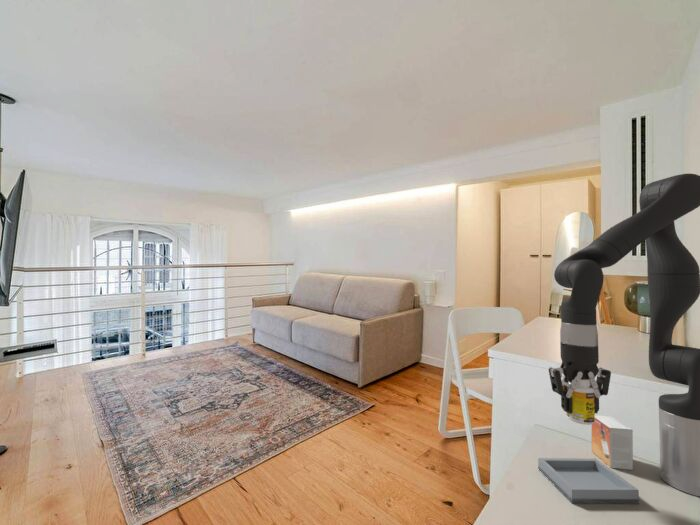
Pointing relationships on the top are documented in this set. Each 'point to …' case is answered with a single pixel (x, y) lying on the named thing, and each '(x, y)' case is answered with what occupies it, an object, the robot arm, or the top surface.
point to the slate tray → (588, 481)
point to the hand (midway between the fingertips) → (580, 411)
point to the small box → (612, 442)
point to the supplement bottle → (582, 403)
